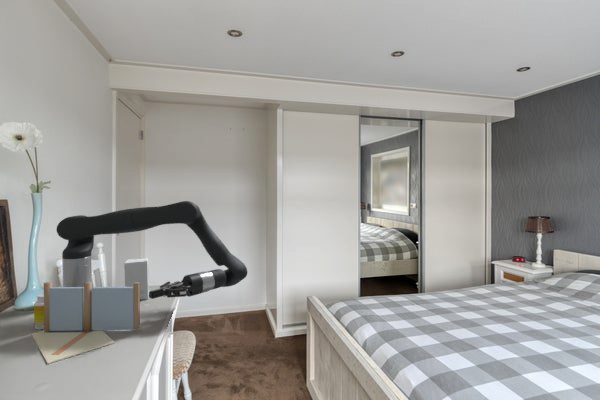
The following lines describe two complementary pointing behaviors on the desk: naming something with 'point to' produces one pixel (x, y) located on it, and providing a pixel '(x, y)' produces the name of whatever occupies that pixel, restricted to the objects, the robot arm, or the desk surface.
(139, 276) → the skincare box
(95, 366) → the desk surface
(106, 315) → the fence panel
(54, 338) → the card
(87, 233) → the robot arm
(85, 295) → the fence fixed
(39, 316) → the supplement bottle
